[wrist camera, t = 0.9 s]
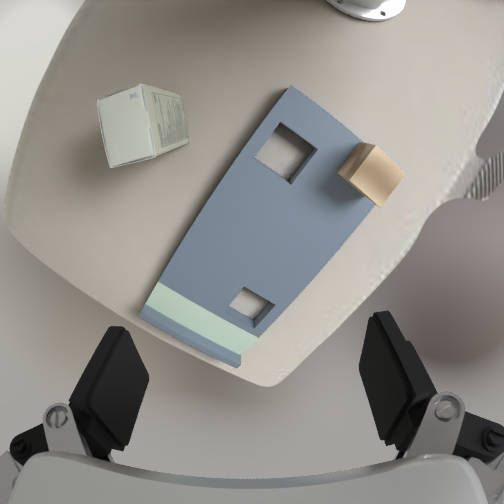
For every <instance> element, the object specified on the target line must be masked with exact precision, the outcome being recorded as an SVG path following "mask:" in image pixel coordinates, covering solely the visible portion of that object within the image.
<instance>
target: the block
mask: <svg viewBox="0 0 504 504" xmlns="http://www.w3.org/2000/svg"><path fill="white" fill-rule="evenodd" d="M337 173H338V174H339V175H340V176H342V177H343V178H344V179H345V180H346V181H348V182H349V183H350V184H351V185H352V186H353V187H355V188H356V189H357V190H358V191H359V192H360V193H362V194H363V195H364V196H365V197H366V198H368V199H369V200H371V201H372V202H373V203H375V204H376V205H377V206H379V207H381V206H382V204H383V203H384V202H385V201H386V199H387V198H388V197H389V195H390V194H391V193H392V191H393V190H394V189H395V188H396V186H397V185H398V184H399V182H400V181H401V180H402V178H403V177H404V176H405V173H404V172H403V171H402V170H401V169H400V168H399V167H398V166H397V165H396V164H395V163H394V162H393V161H392V160H391V159H390V158H389V157H388V156H387V155H386V154H385V153H384V152H383V151H381V150H380V149H379V148H378V147H377V146H376V145H372V144H367V143H362V142H360V143H359V144H358V146H357V147H356V148H355V149H354V151H353V152H352V153H351V155H350V156H349V157H348V159H347V160H346V161H345V162H344V164H343V165H342V166H341V168H340V169H339V170H338V172H337Z"/></svg>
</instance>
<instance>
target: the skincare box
mask: <svg viewBox="0 0 504 504" xmlns="http://www.w3.org/2000/svg"><path fill="white" fill-rule="evenodd" d="M97 109H98V116H99V123H100V128H101V133H102V138H103V143H104V147H105V151H106V155H107V159H108V163H109V167H110V168H115V167H119V166H124V165H128V164H132V163H136V162H141V161H144V160H148V159H153V158H155V157H157V156H160V155H162V154H164V153H166V152H169V151H171V150H174V149H176V148H178V147H181V146H183V145H186V144H188V143H189V138H188V132H187V125H186V120H185V114H184V109H183V104H182V100H181V95H180V94H177V93H174V92H170V91H167V90H164V89H160V88H157V87H153V86H150V85H146V84H142V83H141V84H137V85H134V86H131V87H128V88H125V89H122V90H119V91H116V92H114V93H111V94H109V95H106V96H104V97H102V98H100V99H98V100H97Z"/></svg>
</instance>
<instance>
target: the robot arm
mask: <svg viewBox="0 0 504 504" xmlns="http://www.w3.org/2000/svg"><path fill="white" fill-rule="evenodd" d="M326 1H327V2H328V3H330V4H331V5H332V6H334V7H335V8H337V9H338V10H340V11H342V12H344V13H346V14H348V15H350V16H353V17H355V18H359V19H363V20H368V21H384V20H389V19H391V18H393V17H395V16H396V15H398V14H399V13H400V12H401V11H402V10H403V8H404V6H405V3H406V0H326ZM337 2H338V3H337ZM339 3H340V4H339ZM359 372H360V375H361V378H362V381H363V385H364V387H365V391H366V394H367V397H368V400H369V404H370V407H371V410H372V414H373V417H374V420H375V424H376V427H377V431H378V435H379V438H380V440H385V444H386V446H388V445H392V444H395V446H396V449H397V450H398V452H397V453H396V455H395V457H394V459H393V460H392V461H388V462H383V463H379V464H375V465H370V466H366V467H360V468H356V469H350V470H344V471H338V472H332V473H326V474H318V475H310V476H300V477H289V478H272V479H222V478H205V477H194V476H184V475H176V474H169V473H162V472H155V471H150V470H144V469H139V468H134V467H130V466H125V465H120V464H116V463H115V462H114V460H113V458H112V456H111V454H110V452H111V449H115V450H120V451H124V447H125V446H126V445H128V444H129V441H130V438H131V434H132V431H133V428H134V424H135V422H136V419H137V415H138V412H139V409H140V406H141V403H142V400H143V397H144V394H145V391H146V388H147V385H148V382H149V374H148V372H147V370H146V368H145V366H144V364H143V362H142V360H141V358H140V355H139V353H138V351H137V349H136V347H135V345H134V342H133V340H132V338H131V335H130V333H129V331H127V330H125V328H124V327H120V326H111V327H109V328H108V330H107V331H106V333H105V335H104V336H103V338H102V340H101V342H100V343H99V345H98V347H97V349H96V350H95V352H94V354H93V356H92V358H91V360H90V361H89V363H88V365H87V367H86V368H85V370H84V372H83V374H82V376H81V378H80V380H79V381H78V383H77V385H76V387H75V389H74V391H73V393H72V395H71V397H70V399H69V401H70V403H69V405H67V404H64V403H55V404H53V405H51V406H50V407H49V408H48V409H46V411H45V413H44V415H43V423H42V424H40V425H38V426H36V427H34V428H32V429H30V430H28V431H25V432H23V433H21V434H19V435H17V436H16V437H14V439H13V440H12V442H11V444H10V452H8V451H6V452H5V453H3V454H2V455H1V456H0V504H504V427H503V426H502V425H500V424H498V423H495V422H492V421H489V420H487V419H484V418H481V417H479V416H476V415H473V414H471V413H468V412H465V406H464V403H463V401H462V399H461V398H460V397H459V396H458V395H456V394H454V393H452V392H440V393H437V391H436V389H435V387H434V385H433V383H432V381H431V379H430V377H429V375H428V373H427V371H426V369H425V367H424V365H423V363H422V361H421V360H420V358H419V356H418V354H417V352H416V350H415V349H414V347H413V345H412V344H411V342H410V341H406V340H405V338H404V336H403V335H402V333H401V331H400V329H399V327H398V325H397V324H396V322H395V320H394V318H393V317H392V315H391V313H390V312H389V311H383V312H376V313H374V314H373V317H370V318H369V320H368V325H367V330H366V335H365V340H364V345H363V349H362V354H361V358H360V362H359Z"/></svg>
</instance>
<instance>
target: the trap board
mask: <svg viewBox="0 0 504 504" xmlns="http://www.w3.org/2000/svg"><path fill="white" fill-rule="evenodd" d="M279 123H281V124H283V125H284V126H285V127H287V128H288V129H290V130H291V131H292V132H294V133H295V134H296V135H298V136H299V137H301V138H302V139H303V140H305V141H306V142H307V143H309V144H310V145H311V146H313V147H314V149H313V151H312V152H311V153H310V154H309V156H308V157H307V158H306V160H305V161H304V162H303V164H302V165H301V166H300V168H299V169H298V170H297V172H296V173H295V174H294V176H293V177H292V178H291V180H290V181H287V180H286V179H284V178H283V177H282V176H280V175H279V174H277V173H276V172H275V171H273V170H272V169H270V168H269V167H267V166H266V165H264V164H263V163H262V162H260V161H259V160H257V159H256V158H254V157H255V156H256V154H257V153H258V152H259V150H260V149H261V147H262V146H263V145H264V143H265V142H266V141H267V139H268V138H269V137H270V135H271V134H272V132H273V131H274V130H275V128H276V127H277V126H278V124H279ZM360 142H362V143H364V142H363V141H361V140H360V139H359V138H358V137H357V136H356V135H355V134H353V133H352V132H351V131H350V130H349V129H348V128H346V127H345V126H344V125H343V124H342V123H340V122H339V121H338V120H337V119H335V118H334V117H333V116H332V115H330V114H329V113H328V112H327V111H325V110H324V109H323V108H321V107H320V106H319V105H317V104H316V103H315V102H313V101H312V100H311V99H309V98H308V97H307V96H305V95H304V94H303V93H301V92H300V91H298V90H297V89H296V88H294V87H293V86H291V85H290V87H289V88H288V89H287V90H286V92H285V93H284V94H283V95H282V97H281V98H280V99H279V101H278V102H277V103H276V105H275V106H274V107H273V108H272V110H271V111H270V112H269V114H268V115H267V116H266V118H265V119H264V120H263V122H262V123H261V125H260V126H259V127H258V129H257V130H256V131H255V133H254V134H253V135H252V137H251V138H250V140H249V141H248V142H247V144H246V145H245V147H244V148H243V149H242V151H241V152H240V154H239V155H238V157H237V158H236V159H235V161H234V162H233V164H232V165H231V167H230V168H229V170H228V171H227V172H226V174H225V175H224V177H223V178H222V180H221V181H220V183H219V184H218V186H217V187H216V189H215V190H214V192H213V193H212V195H211V196H210V198H209V199H208V201H207V202H206V204H205V206H204V207H203V209H202V210H201V212H200V213H199V215H198V216H197V218H196V220H195V221H194V223H193V224H192V226H191V227H190V229H189V231H188V232H187V234H186V235H185V237H184V239H183V240H182V242H181V244H180V245H179V247H178V248H177V250H176V252H175V253H174V255H173V257H172V258H171V260H170V262H169V263H168V265H167V267H166V269H165V270H164V272H163V274H162V275H161V277H160V279H159V281H158V282H157V284H156V286H155V287H154V289H153V291H152V293H151V295H150V296H149V298H148V300H147V302H146V304H145V305H144V307H143V309H142V311H141V313H140V315H139V317H140V318H141V319H143V320H145V321H146V322H148V323H150V324H151V325H153V326H155V327H157V328H158V329H160V330H162V331H164V332H166V333H167V334H169V335H171V336H173V337H175V338H177V339H178V340H180V341H182V342H184V343H186V344H188V345H190V346H192V347H194V348H196V349H198V350H200V351H201V352H203V353H205V354H207V355H210V356H212V357H214V358H216V359H218V360H220V361H222V362H224V363H226V364H228V365H230V366H233V367H235V368H238V367H239V366H240V365H241V355H242V354H243V353H244V352H245V351H246V350H247V349H248V348H249V347H250V346H251V345H252V344H253V343H254V342H255V341H256V340H257V339H258V338H259V337H260V336H261V335H262V334H263V333H264V332H265V331H266V330H267V329H268V327H269V326H270V325H271V324H272V323H273V322H274V321H275V320H276V319H277V318H278V317H279V316H280V315H281V314H282V313H283V312H284V311H285V309H286V308H287V307H288V306H289V305H290V304H291V303H292V302H293V301H294V300H295V299H296V297H297V296H298V295H299V294H300V293H301V292H302V291H303V290H304V289H305V288H306V286H307V285H308V284H309V283H310V282H311V281H312V280H313V279H314V277H315V276H316V275H317V274H318V273H319V272H320V271H321V270H322V268H323V267H324V266H325V265H326V264H327V263H328V261H329V260H330V259H331V258H332V257H333V256H334V254H335V253H336V252H337V251H338V250H339V249H340V247H341V246H342V245H343V244H344V243H345V241H346V240H347V239H348V238H349V237H350V235H351V234H352V233H353V232H354V231H355V229H356V228H357V227H358V226H359V224H360V223H361V222H362V221H363V220H364V218H365V217H366V216H367V215H368V213H369V212H370V211H371V210H372V208H373V207H374V206H375V205H376V204H375V203H373V202H372V201H371V200H369V199H368V198H366V197H365V196H364V195H363V194H362V193H360V192H359V191H358V190H357V189H356V188H355V187H353V186H352V185H351V184H350V183H349V182H348V181H346V180H345V179H344V178H343V177H342V176H340V175H339V174H338V173H337V172H338V170H339V169H340V168H341V166H342V165H343V164H344V162H345V161H346V160H347V159H348V157H349V156H350V155H351V153H352V152H353V151H354V149H355V148H356V147H357V146H358V144H359V143H360ZM243 287H246V288H248V289H249V290H251V291H253V292H254V293H256V294H258V295H259V296H261V297H263V298H265V299H266V300H268V301H270V303H269V304H268V305H267V306H266V307H265V308H264V310H263V311H262V312H261V313H260V314H259V315H258V316H257V317H256V318H255V320H253V319H251V318H249V317H247V316H246V315H244V314H242V313H240V312H238V311H237V310H235V309H233V308H231V307H229V305H230V303H231V302H232V301H233V300H234V298H235V297H236V296H237V295H238V293H239V292H240V291H241V290H242V288H243Z"/></svg>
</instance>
